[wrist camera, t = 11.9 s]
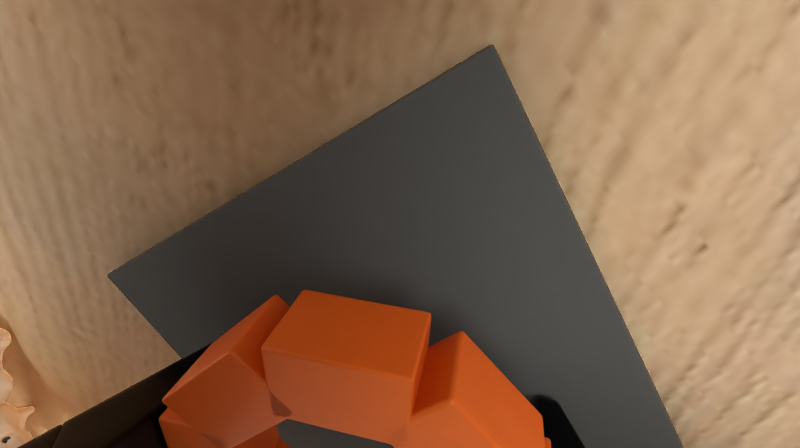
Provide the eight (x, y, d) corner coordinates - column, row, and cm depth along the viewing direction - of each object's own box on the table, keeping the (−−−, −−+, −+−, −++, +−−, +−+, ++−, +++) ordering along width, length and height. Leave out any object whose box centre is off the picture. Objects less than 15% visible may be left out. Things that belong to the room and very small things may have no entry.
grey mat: (699, 480, 9) (705, 495, 9) (339, 518, 13) (335, 529, 13) (493, 43, 6) (492, 44, 6) (116, 268, 10) (106, 275, 10)
